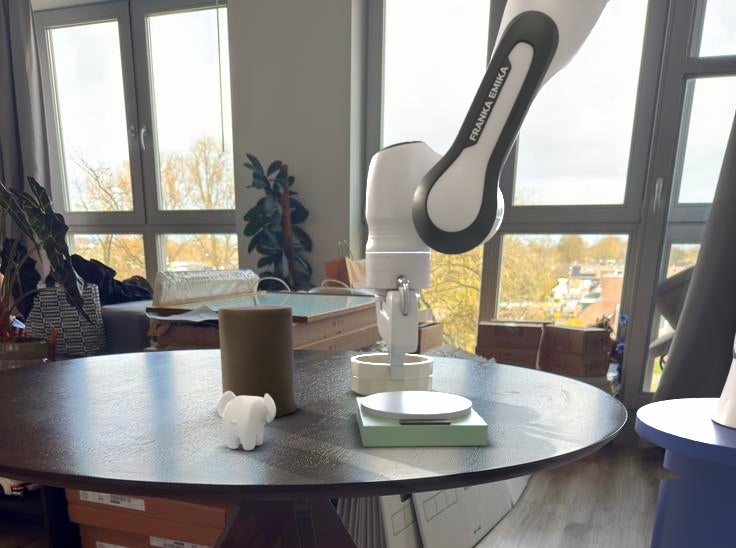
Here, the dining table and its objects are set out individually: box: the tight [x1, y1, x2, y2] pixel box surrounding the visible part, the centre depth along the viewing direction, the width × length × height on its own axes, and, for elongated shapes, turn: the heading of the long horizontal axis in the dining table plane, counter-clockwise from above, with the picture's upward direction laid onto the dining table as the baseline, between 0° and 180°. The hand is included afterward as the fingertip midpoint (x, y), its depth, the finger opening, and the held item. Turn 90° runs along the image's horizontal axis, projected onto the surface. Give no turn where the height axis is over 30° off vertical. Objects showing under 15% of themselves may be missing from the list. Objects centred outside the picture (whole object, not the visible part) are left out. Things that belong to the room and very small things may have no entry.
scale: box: [355, 391, 489, 448], centre depth 88 cm, size 14×16×3 cm
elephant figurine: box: [216, 391, 276, 451], centre depth 80 cm, size 7×8×6 cm
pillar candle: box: [217, 295, 296, 418], centre depth 96 cm, size 10×10×15 cm
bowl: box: [350, 353, 434, 397], centre depth 109 cm, size 12×12×5 cm
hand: (395, 376), depth 104 cm, fingers closed on bowl
